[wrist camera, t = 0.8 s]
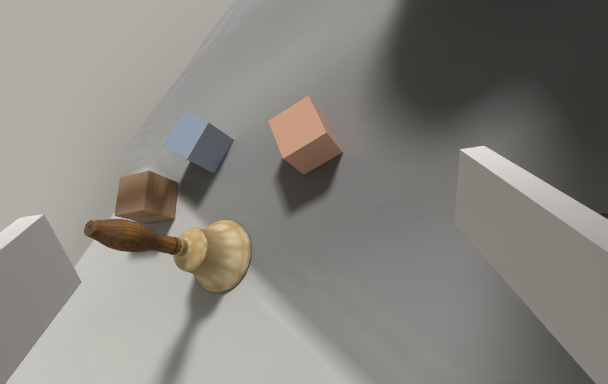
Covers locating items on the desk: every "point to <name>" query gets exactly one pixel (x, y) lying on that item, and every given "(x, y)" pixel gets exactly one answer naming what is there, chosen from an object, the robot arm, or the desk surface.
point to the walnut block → (146, 198)
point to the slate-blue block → (198, 141)
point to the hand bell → (185, 248)
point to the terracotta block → (304, 136)
